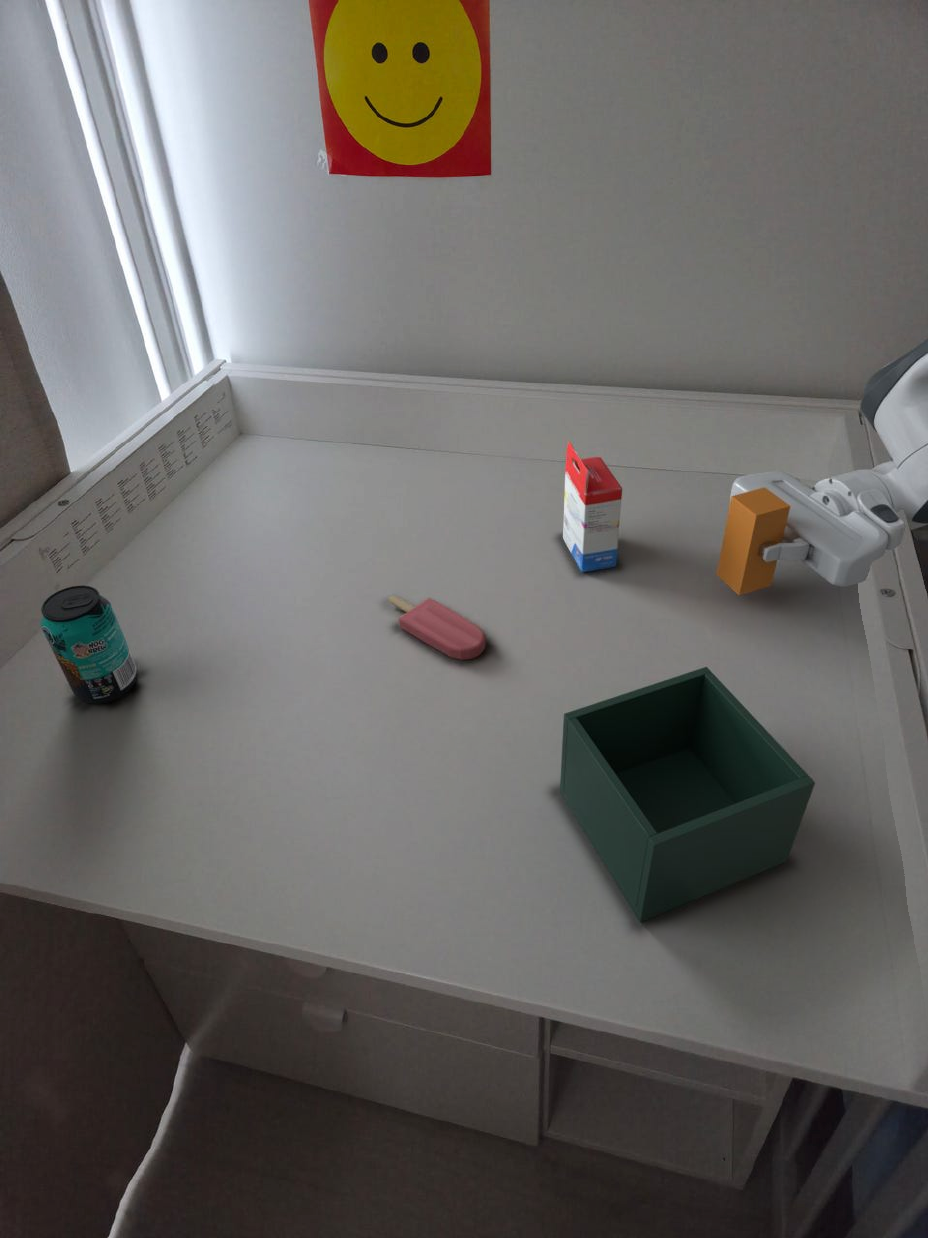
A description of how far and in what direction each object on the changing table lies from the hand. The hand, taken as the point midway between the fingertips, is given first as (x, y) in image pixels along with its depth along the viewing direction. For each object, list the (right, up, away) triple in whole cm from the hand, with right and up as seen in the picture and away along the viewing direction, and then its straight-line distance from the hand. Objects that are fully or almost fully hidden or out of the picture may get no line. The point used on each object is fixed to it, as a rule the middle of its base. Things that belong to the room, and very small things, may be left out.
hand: (746, 540), depth 93 cm
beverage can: (-72, -17, -1) cm, 74 cm away
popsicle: (-36, -10, +4) cm, 38 cm away
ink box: (-16, 0, +15) cm, 22 cm away
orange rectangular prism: (+1, -4, +4) cm, 6 cm away
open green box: (-14, -28, -19) cm, 36 cm away
